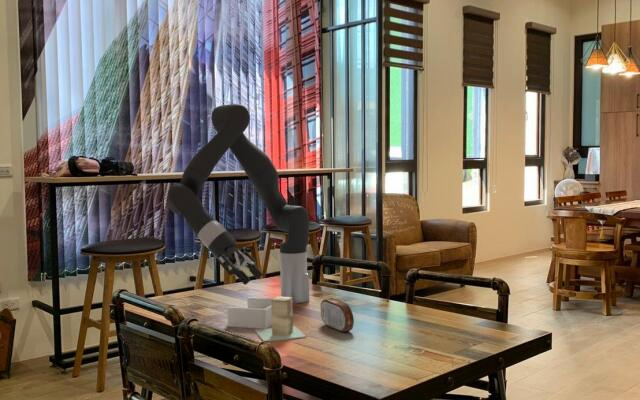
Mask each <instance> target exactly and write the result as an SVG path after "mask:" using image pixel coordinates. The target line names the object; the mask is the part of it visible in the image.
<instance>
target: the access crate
mask: <svg viewBox="0 0 640 400" xmlns="http://www.w3.org/2000/svg"><path fill="white" fill-rule="evenodd" d="M274 298H275V297H273V298H271V297H270V298H269V297H253V296H249V297H248V296H247V307H236V306H227V323H226V327H235V328H237V327H238V328H245V329H246V328H248V329H249V328H250V329H269V328H271V327H272V307H271V300H272V299H274Z"/></svg>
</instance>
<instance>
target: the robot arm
mask: <svg viewBox="0 0 640 400" xmlns="http://www.w3.org/2000/svg"><path fill="white" fill-rule="evenodd" d="M210 118H211V123H212V126H213V127H214V128H213V129H214V130H215V131H216V132H217V133H216V134H215V135H214V136H213V138H211V139H210V140H209V141H208V142H207V143H206V144H205V145H204V146H203V147H202V148H200V149H199V150H198V151H197V153H195V154H194V156H193V157H192V158H191V159H190V161H189V163H188V165H187V166H186V168H185V169H184V171H183V173H182V176H181V181H180V182H179V183H177V184H174V185H172V186H170V188H169V189H168V192H167V204H168V208H169V209H170V211H171V212H172V213H174V214H176V215H182V216H183V218H184V219H185V221H186V224H187V226H188V227H189V229H191V231H192V232H193V233H194V234H195V235H196V236H197V238H199V240H200V241H201V243H202V244H203V245H204V246H205V247H206V248H207V249H208V251H210V253H212V255H213V256H214V257H215V258H216V259H217V262H218V264H219V265H220V266H221V267H222V268H223V269H224V270H225V272H226V273H227V274H228V275H229V276H234V277H236V278H238V279H239V281H240V282H241V283H242V284H243V285H245V286H246V285H248V283H250V281H251V278H250V277H249V276H248V275H247V273H246V272H244V271H243V269H242V268H245V269H247V270H249V272H250V273H251V274H252V275H253V276H254V278H256V279H257V280H258V279H260V278H261V277H262V276H263V272H262V271H261V270H260V269H259V268H258V267H257V266H256V263H257V260H256V259H255V258H254V257H253V256H252V255H251V254H250V253H249V252H248V251H247V250H246V249H245V248H244V247H241V248H240V249H239V248H237V247H236V245H237V243H238V242H237V240H236V239H235V238H234V237H233V236H232V235H231V233H229V231H228V230H227V229H226V228H225V226H223V225H222V224H221V223H220V222H218V220H217V219H216V218H215V217H214V216H213V215H212V214H211V213H210V212H209V211H208V210H207V209H206V208H205V207H204V206H203V204H202V202H201V201H200V200H199V198H198V196H199V194H200V193H201V190H202V188H203V186H204V184H205V183H206V182H207V180H208V178H210V176H211V174H212V172H213V171H214V169H215V167H216V165H217V164H218V163H219V161H220V160H221V159H222V158H223V156H224V155H225V153H227V151H228V150H229V149H230V151H231V152H232V154H233V155H234V157H235V158H236V160H237V162H238V164H239V165H240V166H241V168H242V170H244V173H245V175H247V178H248V179H249V180H250V183H251V184H252V185H253V187H254V188H255V189H256V191H257V193H258V195H259V197H260V198H261V199H262V201H263V203H264V204H265V206H266V209H267V211H268V213H269V215H270V217H271V219H272V220H273V223H274V225H275V226H276V227H277V229H278V230H280V231H282V232H284V233H285V232H286V233H287V234H288V235H287V240H285V241H284V242H282V243H280V245H279V261H280V262H279V266H280V268H279V269H280V297H292V304H301V303H307V302H310V274H309V273H308V263H307V262H308V261H307V260H308V259H307V258H308V257H307V256H308V255H307V254H308V253H307V251H308V250H307V247H308V245H309V233H310V232H309V231H310V217H309V212H308V211H307V208H305V207H303V206H301V205H289V204H288V202H287V201H285V199H284V197H283V196H282V193H281V192H280V187H279V186H280V185H279V184H280V178H279V174H278V170H277V169H276V167H275V165H274V164H273V162H272V160H271V159H270V157H269V156H268V155H267V154H266V153H265V152H264V151H263V150H262V149H261V148H260V147H259V146H257V145H256V144H254V143H253V142H252V141H250V139H249V138H248V137H247V136H246V134H244V132H245V131H246V130H247V128H248V126H249V124H250V122H251V114H250V113H249V109H248V108H247V107H246V106H245V105H243V104H240V103H232V104H231V103H230V104H229V103H228V104H223V105H222V104H221V105H218V106H216V107H214V108H213V110H212V112H211V117H210Z"/></svg>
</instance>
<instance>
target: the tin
mask: <svg viewBox="0 0 640 400" xmlns="http://www.w3.org/2000/svg"><path fill="white" fill-rule="evenodd" d="M320 314H321V315H320V316H321V320H322V322H323V323H324V324H325V326H327V327H328V328H331V329H333V330H335V331H338V332H340V333H344V332H350V331H352V330H353V327H354V324H355V323H354V321H355V319H354V314H353V312H352V309H351V306H349V304H348V303H347V302H344V301H342V300H339V299H336V298H333V297H329V298H326V299H323V300H322V301H321V302H320Z"/></svg>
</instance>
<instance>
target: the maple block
mask: <svg viewBox="0 0 640 400" xmlns="http://www.w3.org/2000/svg"><path fill="white" fill-rule="evenodd" d="M273 298H274V299H272V300H271V307H272V326H271V328H272V335H281V336H288V335H289V334H291V333H292V332H293V326H294V319H293V317H294V313H293V310H294V309H293V303H292V297H281V296H280V295H279V296H278V295H277V296H276V297H273Z"/></svg>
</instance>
